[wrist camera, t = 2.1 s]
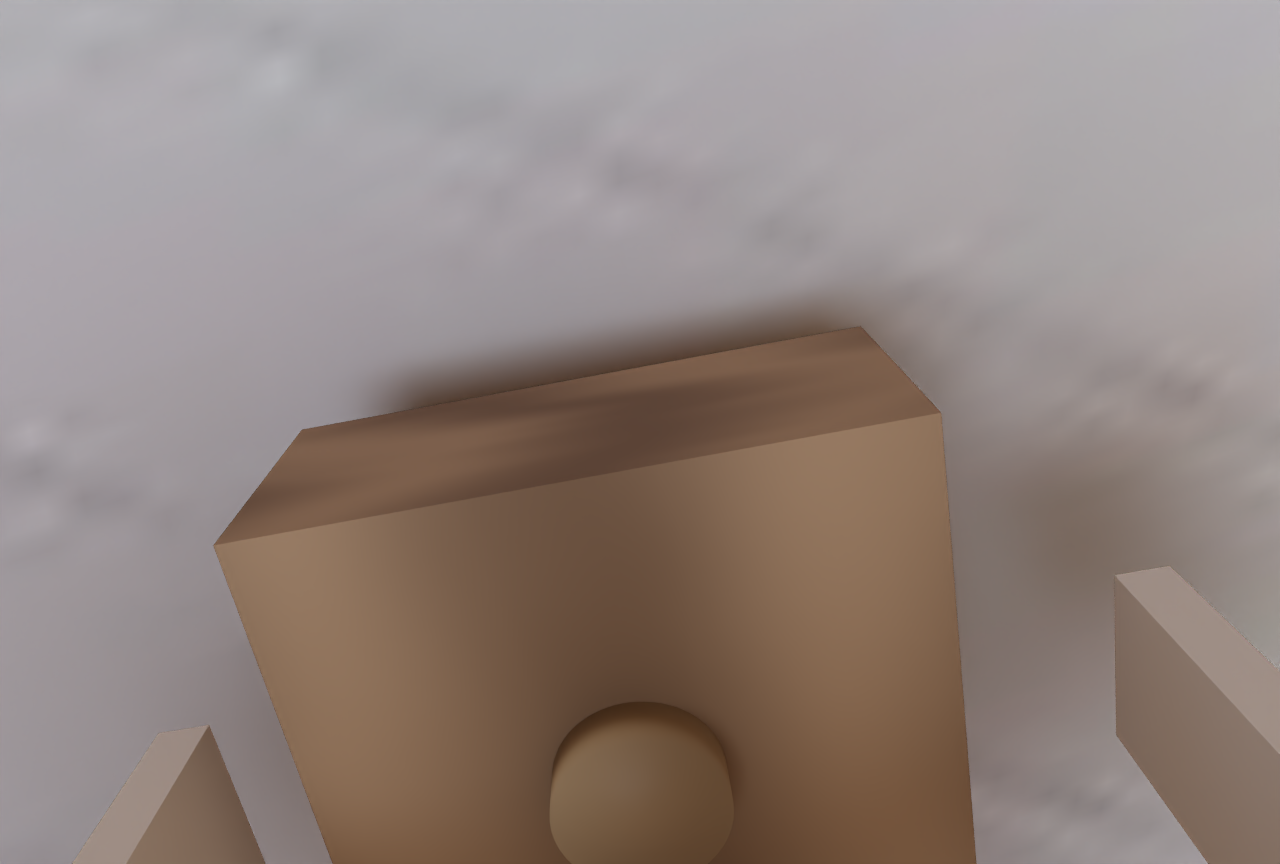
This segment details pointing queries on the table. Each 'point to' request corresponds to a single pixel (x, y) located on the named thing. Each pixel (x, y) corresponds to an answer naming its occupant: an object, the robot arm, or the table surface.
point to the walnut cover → (622, 619)
